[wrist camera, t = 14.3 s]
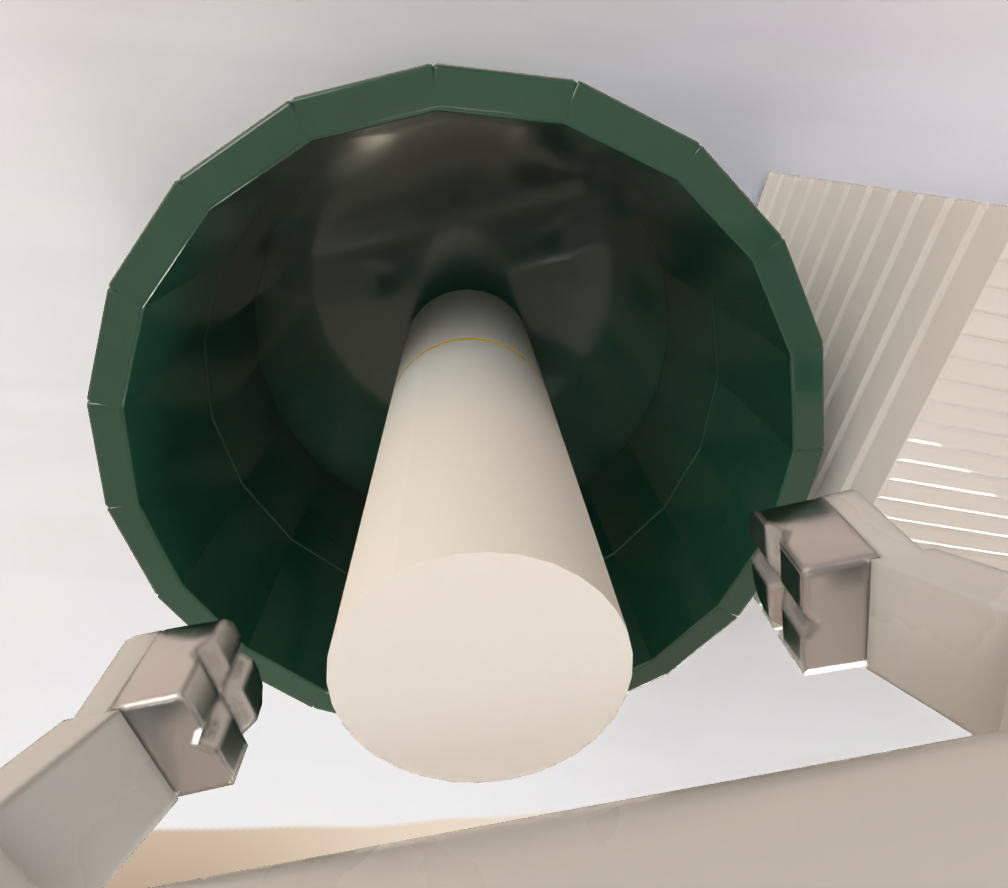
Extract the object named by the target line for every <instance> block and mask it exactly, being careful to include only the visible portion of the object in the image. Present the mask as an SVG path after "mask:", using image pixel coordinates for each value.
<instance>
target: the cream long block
mask: <svg viewBox="0 0 1008 888" xmlns="http://www.w3.org/2000/svg"><path fill="white" fill-rule="evenodd" d="M757 208H758V209H759V210H760V212H761V213H762V214H763V215H764V216H765V217H766V218H767V219H768V221H769V222H770V223H771V224H772V225H773V226H774V227H775V228H776V230H777V231H778V232H779V233H780V234H781V237H782V238H783V239H784V240H785V242H786V244H787V247H788V250H789V252H790V255H791V258H792V260H793V263H794V266H795V268H796V271H797V274H798V276H799V279H800V282H801V284H802V287H803V290H804V292H805V295H806V298H807V300H808V303H809V306H810V308H811V311H812V314H813V316H814V319H815V322H816V324H817V327H818V330H819V332H820V335H821V338H822V340H823V344H822V345H823V361H824V446H823V449H824V451H823V454H822V457H821V460H820V463H819V466H818V469H817V472H816V474H815V477H814V480H813V483H812V486H811V489H810V492H809V495H808V498H807V500H811V499H816V498H818V497H820V496H825V495H829V494H833V493H837V492H842V491H846V490H850V489H853V490H856V491H859V492H860V493H861V494H863V495H864V496H865V497H866V498H867V499H868V500H869V501H870V502H871V503H872V504H873V505H874V506H876V507H877V508H878V509H879V510H880V511H881V512H882V513H883V514H884V515H885V516H886V517H887V518H889V519H890V520H891V521H892V522H893V523H894V524H895V525H896V526H897V527H898V528H899V529H900V530H902V531H903V532H904V533H905V534H906V535H907V536H908V537H909V538H910V539H911V540H912V541H913V542H915V543H916V544H917V545H918V546H919V547H920V548H921V549H922V550H924V549H929V548H936V549H939V550H942V551H945V552H948V553H951V554H954V555H958V556H961V557H964V558H967V559H970V560H973V561H976V562H979V563H982V564H985V565H989V566H992V567H995V568H998V569H1001V570H1004V571H1007V572H1008V206H1002V205H995V204H990V205H989V204H985V203H981V202H975V201H968V200H961V199H951V198H947V197H940V196H933V195H926V194H925V195H923V194H919V193H913V192H906V191H899V190H898V191H896V190H892V189H885V188H878V187H870V186H864V185H858V184H849V183H844V182H837V181H829V180H823V179H816V178H815V179H814V178H809V177H802V176H795V175H789V174H781V173H775V172H769V174H768V177H767V180H766V183H765V186H764V189H763V192H762V194H761V197H760V200H759V203H758V206H757ZM753 597H754V598H755V600H756V601H757V603H758V604H759V605H762V604H761V602H760V599H759V597H758V595H757V591H756V593H755V594H754V595H753ZM763 612H764V614H765V616H766V617H767V619H768V620H769V622H770V624H771V625H772V627H773V628H774V629H779V630H781V631H780V633H779V635H778V636H779V638H780V640H781V641H782V643H783V644H784V646H785V647H786V645H785V643H784V642H783V626H781V625H779V624H777V623H775V622H773V621H771V620H770V619H769V617H768V615H767V614H766V612H765V610H764V609H763ZM786 649H787V651H788V652H789V650H788V648H787V647H786ZM789 654H790V655H791V653H790V652H789ZM791 657H792V659H793V660H794V658H793V656H792V655H791ZM858 668H866V665H865V666H859V667H858ZM866 669H867V668H866Z"/></svg>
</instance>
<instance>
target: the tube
mask: <svg viewBox="0 0 1008 888" xmlns="http://www.w3.org/2000/svg"><path fill="white" fill-rule="evenodd" d="M632 662H633V652H632V648H631V643H630V639H629V635H628V631H627V628H626V625H625V622H624V619H623V616H622V613H621V610H620V607H619V604H618V601H617V598H616V595H615V592H614V589H613V586H612V583H611V580H610V577H609V574H608V571H607V568H606V565H605V562H604V559H603V556H602V554H601V551H600V548H599V545H598V542H597V539H596V536H595V533H594V530H593V527H592V524H591V521H590V518H589V515H588V512H587V509H586V506H585V503H584V500H583V497H582V494H581V491H580V488H579V485H578V482H577V479H576V476H575V473H574V470H573V467H572V464H571V461H570V458H569V455H568V452H567V449H566V446H565V443H564V440H563V438H562V435H561V432H560V429H559V426H558V423H557V420H556V417H555V414H554V411H553V408H552V405H551V402H550V399H549V396H548V393H547V390H546V387H545V384H544V381H543V378H542V375H541V372H540V369H539V366H538V363H537V360H536V357H535V354H534V351H533V348H532V345H531V342H530V339H529V337H528V334H527V331H526V328H525V326H524V324H523V322H522V320H521V318H520V317H519V316H518V314H517V313H516V311H515V310H514V309H513V308H512V307H511V306H509V305H508V304H507V303H506V302H505V301H503V300H501V299H500V298H498V297H497V296H495V295H492V294H489V293H486V292H484V291H478V290H471V289H466V290H455V291H451V292H448V293H444V294H442V295H440V296H438V297H436V298H434V299H433V300H431V301H430V302H429V303H427V304H426V305H425V306H424V307H423V308H422V309H421V310H420V311H419V312H418V313H417V315H416V316H415V318H414V320H413V321H412V323H411V325H410V328H409V331H408V334H407V337H406V341H405V345H404V349H403V353H402V357H401V361H400V366H399V370H398V374H397V378H396V382H395V386H394V390H393V394H392V398H391V402H390V406H389V410H388V414H387V418H386V422H385V426H384V431H383V435H382V439H381V443H380V447H379V451H378V455H377V459H376V463H375V467H374V471H373V475H372V479H371V483H370V487H369V491H368V495H367V499H366V503H365V507H364V511H363V515H362V519H361V523H360V527H359V531H358V535H357V539H356V544H355V548H354V552H353V556H352V560H351V564H350V568H349V572H348V576H347V580H346V584H345V588H344V592H343V596H342V600H341V604H340V608H339V612H338V616H337V620H336V624H335V628H334V632H333V636H332V640H331V644H330V648H329V652H328V657H327V679H326V682H327V686H328V690H329V694H330V698H331V703H332V705H333V707H334V709H335V711H336V713H337V715H338V717H339V719H340V720H341V722H342V724H343V725H344V727H345V728H346V729H347V730H348V731H349V732H350V734H351V735H352V736H353V737H354V738H355V739H356V741H357V742H359V743H360V744H361V745H362V746H364V747H365V748H366V749H367V750H369V751H370V752H371V753H372V754H374V755H375V756H377V757H379V758H381V759H382V760H384V761H386V762H388V763H390V764H392V765H393V766H395V767H397V768H400V769H403V770H406V771H409V772H411V773H414V774H417V775H420V776H423V777H429V778H434V779H439V780H444V781H450V782H474V783H480V782H491V781H501V780H508V779H512V778H517V777H521V776H525V775H529V774H533V773H536V772H538V771H541V770H544V769H546V768H549V767H551V766H554V765H556V764H558V763H560V762H562V761H564V760H565V759H567V758H569V757H571V756H573V755H574V754H576V753H578V752H579V751H580V750H582V749H583V748H584V747H585V746H587V745H588V744H589V743H591V742H592V741H593V740H595V739H596V738H597V737H598V736H599V735H600V734H601V732H602V731H603V730H604V729H605V728H606V727H607V726H608V725H609V724H610V723H611V721H612V720H613V719H614V717H615V715H616V714H617V712H618V710H619V709H620V707H621V705H622V704H623V702H624V700H625V698H626V695H627V691H628V688H629V685H630V681H631V678H632Z"/></svg>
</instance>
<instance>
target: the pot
mask: <svg viewBox="0 0 1008 888" xmlns="http://www.w3.org/2000/svg"><path fill="white" fill-rule="evenodd" d="M109 287H110V288H109V289H108V290H107V295H106V301H105V306H104V311H103V317H102V322H101V327H100V333H99V338H98V343H97V349H96V354H95V359H94V364H93V370H92V375H91V380H90V386H89V391H88V396H87V399H88V403H87V407H88V412H89V418H90V423H91V429H92V434H93V439H94V445H95V450H96V455H97V461H98V466H99V472H100V477H101V482H102V488H103V493H104V498H105V504H106V506H108V511H109V513H110V515H111V516H112V518H113V520H114V522H115V523H116V525H117V527H118V529H119V530H120V532H121V534H122V536H123V537H124V539H125V541H126V543H127V544H128V546H129V548H130V550H131V551H132V553H133V555H134V557H135V558H136V560H137V562H138V564H139V565H140V567H141V569H142V571H143V572H144V574H145V576H146V577H147V579H148V581H149V583H150V584H151V586H152V588H153V590H154V591H155V593H156V594H158V598H159V599H160V600H161V601H162V602H164V603H165V604H166V605H167V606H168V607H169V608H170V609H171V610H172V611H173V612H174V613H175V614H176V615H177V616H178V617H180V618H181V619H182V620H183V621H184V622H185V623H186V624H187V625H188V626H189V625H194V624H200V623H205V622H211V621H216V620H222V619H226V620H229V621H232V622H234V624H235V626H236V628H237V629H238V631H239V633H240V635H241V636H242V641H241V644H240V647H239V651H240V652H242V653H244V654H245V655H247V656H249V657H250V658H252V659H253V660H254V662H255V664H256V666H257V668H258V670H259V673H260V677H261V681H263V682H265V683H267V684H269V685H270V686H272V687H274V688H276V689H278V690H280V691H282V692H284V693H286V694H287V695H289V696H291V697H293V698H295V699H297V700H299V701H301V702H303V703H304V704H306V705H308V706H310V707H313V706H314V708H317V709H321V710H325V711H329V712H333V713H336V711H335V709H334V707H333V705H332V703H331V698H330V694H329V690H328V686H327V682H326V679H327V657H328V652H329V648H330V644H331V640H332V636H333V632H334V628H335V624H336V620H337V616H338V612H339V608H340V604H341V600H342V596H343V592H344V588H345V584H346V580H347V576H348V572H349V568H350V564H351V560H352V556H353V552H354V548H355V544H356V539H357V535H358V531H359V527H360V523H361V519H362V515H363V511H364V507H365V503H366V499H367V495H368V491H369V487H370V483H371V479H372V475H373V471H374V467H375V463H376V459H377V455H378V451H379V447H380V443H381V439H382V435H383V431H384V426H385V422H386V418H387V414H388V410H389V406H390V402H391V398H392V394H393V390H394V386H395V382H396V378H397V374H398V370H399V366H400V361H401V357H402V353H403V349H404V345H405V341H406V337H407V334H408V331H409V328H410V325H411V323H412V321H413V320H414V318H415V316H416V315H417V313H418V312H419V311H420V310H421V309H422V308H423V307H424V306H425V305H426V304H427V303H429V302H430V301H431V300H433V299H434V298H436V297H438V296H440V295H442V294H444V293H448V292H451V291H455V290H466V289H471V290H478V291H484V292H486V293H489V294H492V295H495V296H497V297H498V298H500V299H501V300H503V301H505V302H506V303H507V304H508V305H509V306H511V307H512V308H513V309H514V310H515V311H516V313H517V314H518V316H519V317H520V318H521V320H522V322H523V324H524V326H525V328H526V331H527V334H528V337H529V339H530V342H531V345H532V348H533V351H534V354H535V357H536V360H537V363H538V366H539V369H540V372H541V375H542V378H543V381H544V384H545V387H546V390H547V393H548V396H549V399H550V402H551V405H552V408H553V411H554V414H555V417H556V420H557V423H558V426H559V429H560V432H561V435H562V438H563V440H564V443H565V446H566V449H567V452H568V455H569V458H570V461H571V464H572V467H573V470H574V473H575V476H576V479H577V482H578V485H579V488H580V491H581V494H582V497H583V500H584V503H585V506H586V509H587V512H588V515H589V518H590V521H591V524H592V527H593V530H594V533H595V536H596V539H597V542H598V545H599V548H600V551H601V554H602V556H603V559H604V562H605V565H606V568H607V571H608V574H609V577H610V580H611V583H612V586H613V589H614V592H615V595H616V598H617V601H618V604H619V607H620V610H621V613H622V616H623V619H624V622H625V625H626V628H627V631H628V635H629V639H630V643H631V648H632V652H633V662H632V678H631V681H630V685H629V688H628V691H627V693H628V692H630V691H632V690H634V689H637V688H639V687H641V686H643V685H645V684H647V683H649V682H652V681H654V680H656V679H658V678H660V677H662V676H664V674H668V673H670V672H671V671H672V670H673V669H674V668H676V667H677V666H678V665H679V664H681V663H682V662H683V661H684V660H686V659H687V658H688V657H689V656H691V655H692V654H693V653H694V652H696V651H697V650H698V649H699V648H701V647H702V646H703V645H704V644H705V643H707V642H708V641H709V640H710V639H712V638H713V637H714V636H715V635H717V634H718V633H719V632H720V631H722V630H723V629H724V628H725V627H727V626H728V625H729V624H730V623H732V622H733V621H734V620H735V619H736V618H737V616H739V615H740V613H741V612H742V611H743V609H744V608H745V606H746V605H747V604H748V602H749V601H750V600H751V598H752V597H753V595H754V594H755V593H756V587H755V583H754V579H753V571H752V558H753V556H754V555H755V553H756V552H757V550H758V549H759V548H758V546H757V545H756V543H755V542H754V540H753V539H752V537H751V536H750V517H751V512H755V511H760V510H764V509H769V508H774V507H778V506H783V505H788V504H792V503H797V502H802V501H807V498H808V495H809V492H810V489H811V486H812V483H813V480H814V477H815V474H816V472H817V469H818V466H819V463H820V460H821V457H822V454H823V451H824V449H823V446H824V361H823V345H822V344H823V340H822V338H821V335H820V332H819V330H818V327H817V324H816V322H815V319H814V316H813V314H812V311H811V308H810V306H809V303H808V300H807V298H806V295H805V292H804V290H803V287H802V284H801V282H800V279H799V276H798V274H797V271H796V268H795V266H794V263H793V260H792V258H791V255H790V252H789V250H788V247H787V244H786V242H785V240H784V239H783V238H782V237H781V234H780V233H779V232H778V231H777V230H776V228H775V227H774V226H773V225H772V224H771V223H770V222H769V221H768V219H767V218H766V217H765V216H764V215H763V214H762V213H761V212H760V210H759V209H758V208H757V207H756V206H755V205H754V204H753V203H752V201H751V200H750V199H749V198H748V197H747V196H746V195H745V194H744V192H743V191H742V190H741V189H740V188H739V187H738V186H737V185H736V183H735V182H734V181H733V180H732V179H731V178H730V177H729V176H728V174H727V173H726V172H725V171H724V170H723V169H722V168H721V167H720V165H719V164H718V163H717V162H716V161H715V160H714V159H713V158H712V156H711V155H710V154H709V153H708V152H707V151H706V150H705V149H704V147H702V146H700V145H699V143H698V142H697V141H695V140H693V139H691V138H689V137H687V136H685V135H683V134H681V133H679V132H677V131H676V130H674V129H672V128H670V127H668V126H666V125H664V124H662V123H660V122H658V121H656V120H654V119H652V118H650V117H648V116H647V115H645V114H643V113H641V112H639V111H637V110H635V109H633V108H631V107H629V106H627V105H625V104H623V103H621V102H620V101H618V100H616V99H614V98H612V97H610V96H608V95H606V94H604V93H602V92H600V91H598V90H596V89H594V88H592V87H591V86H589V85H587V84H585V83H583V82H581V81H578V82H576V81H574V80H573V79H564V78H556V77H547V76H539V75H530V74H522V73H513V72H505V71H496V70H488V69H479V68H471V67H462V66H454V65H445V64H435V65H434V66H432V65H431V64H426V65H422V66H418V67H414V68H410V69H406V70H402V71H398V72H394V73H390V74H386V75H382V76H378V77H374V78H370V79H366V80H362V81H358V82H354V83H350V84H346V85H342V86H338V87H334V88H330V89H326V90H322V91H318V92H314V93H310V94H306V95H302V96H298V97H294V98H293V99H292V101H286V102H285V103H284V104H282V105H281V106H279V107H278V108H277V109H275V110H274V111H272V112H271V113H269V114H268V115H267V116H265V117H264V118H262V119H261V120H260V121H258V122H257V123H255V124H254V125H252V126H251V127H250V128H248V129H247V130H245V131H244V132H243V133H241V134H240V135H238V136H237V137H235V138H234V139H233V140H231V141H230V142H228V143H227V144H226V145H224V146H223V147H221V148H220V149H218V150H217V151H216V152H214V153H213V154H211V155H210V156H209V157H207V158H206V159H204V160H203V161H201V162H200V163H199V164H197V165H196V166H194V167H193V168H192V169H190V170H189V171H187V172H186V173H184V174H183V175H182V176H181V177H180V179H179V180H177V181H175V182H174V184H173V185H172V187H171V189H170V190H169V192H168V193H167V195H166V196H165V198H164V199H163V201H162V202H161V204H160V206H159V207H158V209H157V210H156V212H155V213H154V215H153V216H152V218H151V220H150V221H149V223H148V224H147V226H146V227H145V229H144V230H143V232H142V234H141V235H140V237H139V238H138V240H137V241H136V243H135V244H134V246H133V248H132V249H131V251H130V252H129V254H128V255H127V257H126V258H125V260H124V261H123V263H122V265H121V266H120V268H119V269H118V271H117V272H116V274H115V275H114V277H113V279H112V280H111V282H110V283H109Z"/></svg>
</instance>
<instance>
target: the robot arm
mask: <svg viewBox="0 0 1008 888" xmlns="http://www.w3.org/2000/svg"><path fill="white" fill-rule="evenodd" d="M750 536H751V537H752V539H753V540H754V542H755V543H756V545H757V546H758V548H759V549H758V550H757V552H756V553H755V555H754V556H753V558H752V571H753V579H754V583H755V587H756V591H757V595H758V597H759V599H760V602H761V604H762V606H763V608H764V610H765V612H766V614H767V615H768V617H769V619H770V620H771V621H773V622H775V623H777V624H779V625H781V626H783V642H784V643H785V645H786V647H787V648H788V650H789V652H790V653H791V655H792V656H793V658H794V660H795V661H796V663H797V664H798V666H799V668H800V669H801V671H802V673H803V674H804V675H810V674H816V673H822V672H829V671H835V670H841V669H847V668H853V667H859V666H865V665H866V668H867V669H868V670H870V671H872V672H873V673H875V674H876V675H878V676H880V677H881V678H883V679H885V680H886V681H888V682H889V683H891V684H893V685H894V686H896V687H898V688H899V689H901V690H902V691H904V692H906V693H907V694H909V695H910V696H912V697H914V698H915V699H917V700H919V701H920V702H922V703H923V704H925V705H927V706H928V707H930V708H931V709H933V710H935V711H936V712H938V713H940V714H941V715H943V716H944V717H946V718H948V719H949V720H951V721H952V722H954V723H956V724H957V725H959V726H961V727H962V728H964V729H965V730H967V731H969V732H970V733H972V734H973V735H974V736H969V737H963V738H958V739H952V740H947V741H941V742H936V743H931V744H925V745H920V746H914V747H909V748H903V749H898V750H893V751H887V752H882V753H877V754H871V755H866V756H861V757H855V758H850V759H844V760H839V761H834V762H828V763H823V764H818V765H812V766H807V767H802V768H796V769H791V770H785V771H780V772H775V773H769V774H764V775H758V776H753V777H747V778H742V779H736V780H731V781H725V782H720V783H714V784H709V785H703V786H698V787H692V788H687V789H681V790H676V791H670V792H665V793H659V794H654V795H648V796H643V797H637V798H632V799H626V800H621V801H615V802H610V803H605V804H599V805H594V806H588V807H583V808H577V809H572V810H566V811H561V812H555V813H550V814H544V815H539V816H534V817H528V818H523V819H517V820H512V821H507V822H501V823H496V824H490V825H485V826H480V827H474V828H469V829H463V830H458V831H452V832H447V833H442V834H436V835H431V836H425V837H420V838H415V839H409V840H404V841H399V842H393V843H387V844H383V845H377V846H371V847H366V848H360V849H355V850H350V851H344V852H339V853H333V854H328V855H322V856H317V857H312V858H306V859H301V860H296V861H290V862H285V863H279V864H274V865H268V866H263V867H257V868H253V869H246V870H241V871H236V872H231V873H225V874H219V875H214V876H209V877H203V878H198V879H192V880H187V881H181V882H176V883H170V884H165V885H160V886H154V887H149V888H1008V572H1007V571H1004V570H1001V569H998V568H995V567H992V566H989V565H985V564H982V563H979V562H976V561H973V560H970V559H967V558H964V557H961V556H958V555H954V554H951V553H948V552H945V551H942V550H939V549H936V548H929V549H924V550H922V549H921V548H920V547H919V546H918V545H917V544H916V543H915V542H913V541H912V540H911V539H910V538H909V537H908V536H907V535H906V534H905V533H904V532H903V531H902V530H900V529H899V528H898V527H897V526H896V525H895V524H894V523H893V522H892V521H891V520H890V519H889V518H887V517H886V516H885V515H884V514H883V513H882V512H881V511H880V510H879V509H878V508H877V507H876V506H874V505H873V504H872V503H871V502H870V501H869V500H868V499H867V498H866V497H865V496H864V495H863V494H861V493H860V492H859V491H856V490H853V489H850V490H846V491H842V492H837V493H833V494H829V495H825V496H820V497H818V498H816V499H811V500H807V501H802V502H797V503H792V504H788V505H783V506H778V507H774V508H769V509H764V510H760V511H755V512H751V517H750ZM241 641H242V636H241V635H240V633H239V631H238V629H237V628H236V626H235V624H234V622H232V621H229V620H226V619H222V620H216V621H211V622H205V623H200V624H194V625H189V626H183V627H178V628H172V629H167V630H164V631H157V632H152V633H147V634H142V635H137V636H134V637H132V638H130V639H128V640H127V641H125V643H124V644H123V646H122V647H121V649H120V650H119V652H118V653H117V655H116V656H115V658H114V659H113V661H112V662H111V664H110V665H109V667H108V668H107V670H106V671H105V673H104V674H103V676H102V677H101V679H100V680H99V682H98V683H97V685H96V686H95V687H94V689H93V690H92V692H91V693H90V695H89V696H88V698H87V699H86V701H85V702H84V704H83V705H82V707H81V708H80V710H79V711H78V713H77V714H76V716H75V717H74V718H73V719H68V720H64V721H62V722H61V723H60V724H58V725H57V726H56V727H54V728H53V729H52V730H50V731H49V732H48V733H46V734H45V735H44V736H42V737H41V738H40V739H38V740H37V741H36V742H34V743H33V744H32V745H30V746H29V747H28V748H26V749H25V750H24V751H23V752H21V753H20V754H19V755H17V756H16V757H15V758H13V759H12V760H11V761H9V762H8V763H7V764H5V765H4V766H3V767H1V768H0V888H104V887H105V886H106V884H107V883H108V882H109V881H110V880H111V879H112V877H113V876H114V875H115V874H116V873H117V871H118V870H119V869H120V868H121V867H122V865H123V864H124V863H125V862H126V861H127V860H128V858H129V857H130V856H131V855H132V854H133V852H134V851H135V850H136V849H137V848H138V847H139V845H140V844H141V843H142V842H143V841H144V840H145V838H146V837H147V836H148V835H149V834H150V833H151V831H152V830H153V829H154V828H155V827H156V825H157V824H158V823H159V822H160V821H161V820H162V818H163V817H164V816H165V815H166V814H167V812H168V811H169V810H170V809H171V808H172V807H173V805H174V804H175V803H176V802H177V801H178V798H177V797H179V796H183V795H188V794H192V793H197V792H201V791H206V790H210V789H215V788H219V787H224V786H228V785H233V784H234V782H235V779H236V776H237V774H238V771H239V768H240V765H241V763H242V760H243V757H244V754H245V752H246V749H247V746H248V744H247V743H246V741H245V739H244V737H243V734H244V733H245V732H246V731H247V730H248V729H249V728H250V727H251V726H252V725H253V723H254V722H255V721H256V720H257V718H258V715H259V712H260V709H261V706H262V688H263V685H262V681H261V677H260V673H259V670H258V668H257V666H256V664H255V662H254V660H253V659H252V658H250V657H249V656H247V655H245V654H244V653H242V652H240V651H239V647H240V644H241Z"/></svg>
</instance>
